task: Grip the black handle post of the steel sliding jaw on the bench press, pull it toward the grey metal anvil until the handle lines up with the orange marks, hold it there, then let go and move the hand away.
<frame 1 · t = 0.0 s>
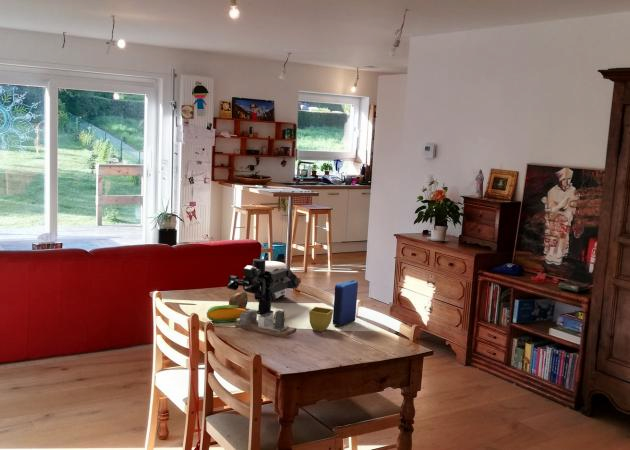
hand: (236, 288, 304), 17 cm above the table, tool horizontal, fingers open, 9 cm apart
book: (344, 324, 318), on the table
milk container: (269, 298, 358), on the table
press base: (265, 328, 303), on the table
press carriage: (273, 319, 301), point 5 cm above the table, slide at 0.0 cm
corn: (227, 321, 312), on the table
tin: (237, 311, 330), on the table
flower pot: (320, 330, 307), on the table
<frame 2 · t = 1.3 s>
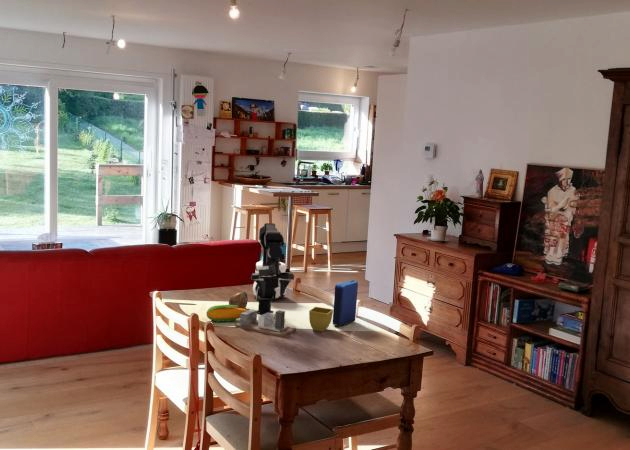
hand: (272, 296, 298), 16 cm above the table, tool tilted 15°, fingers open, 9 cm apart
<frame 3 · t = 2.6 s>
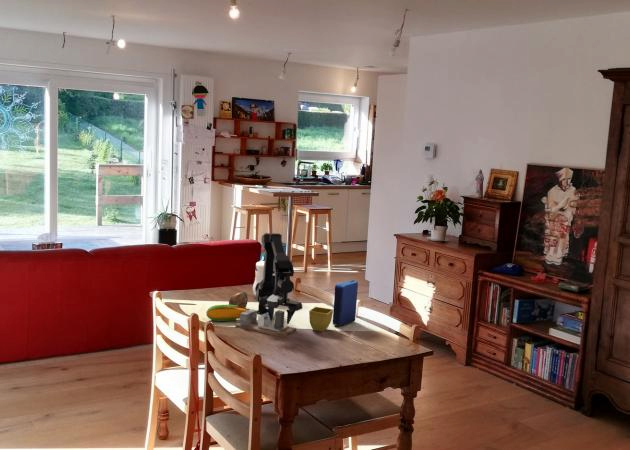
hand: (279, 322, 300), 4 cm above the table, tool pointing down, fingers open, 8 cm apart
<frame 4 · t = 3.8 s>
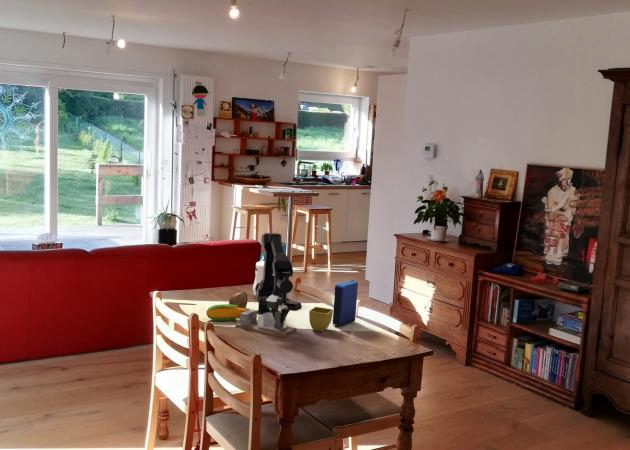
hand: (278, 322, 300), 4 cm above the table, tool pointing down, fingers closed on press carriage, 3 cm apart
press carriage: (273, 318, 301), point 5 cm above the table, slide at 0.3 cm, touching gripper
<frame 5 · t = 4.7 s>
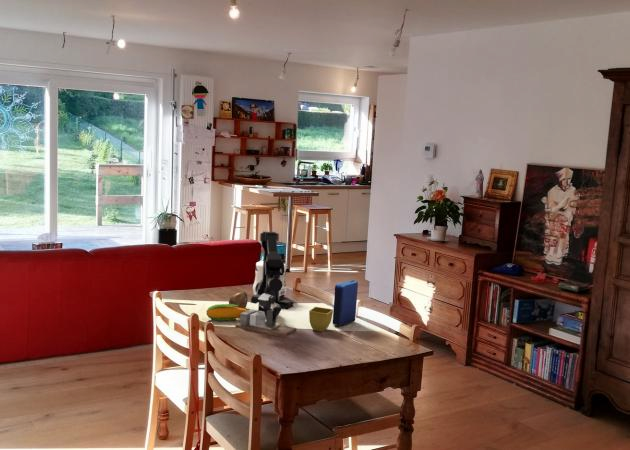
hand: (271, 320, 302), 4 cm above the table, tool pointing down, fingers closed on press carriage, 3 cm apart
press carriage: (265, 317, 303), point 5 cm above the table, slide at 4.3 cm, touching gripper
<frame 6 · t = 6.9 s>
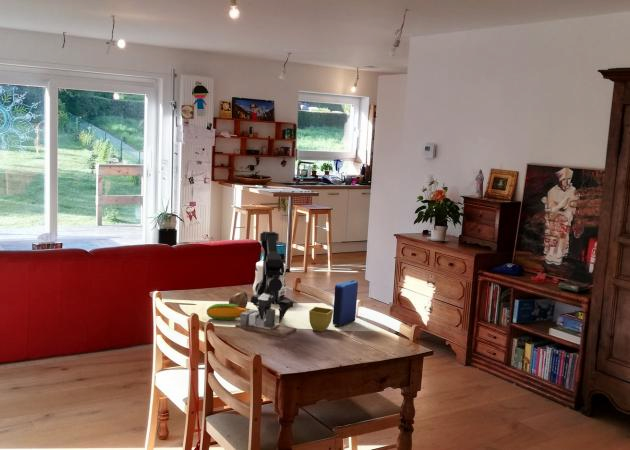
hand: (270, 320, 302), 4 cm above the table, tool pointing down, fingers open, 9 cm apart
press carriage: (264, 317, 303), point 5 cm above the table, slide at 4.8 cm, touching gripper
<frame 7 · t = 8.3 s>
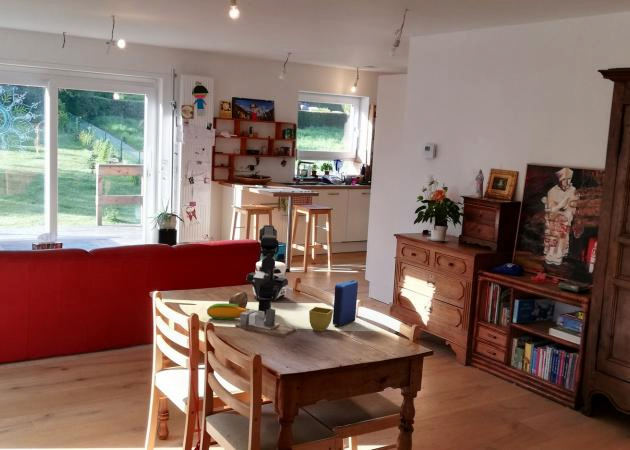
hand: (266, 298, 310), 12 cm above the table, tool pointing down, fingers open, 9 cm apart
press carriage: (264, 317, 303), point 5 cm above the table, slide at 4.8 cm
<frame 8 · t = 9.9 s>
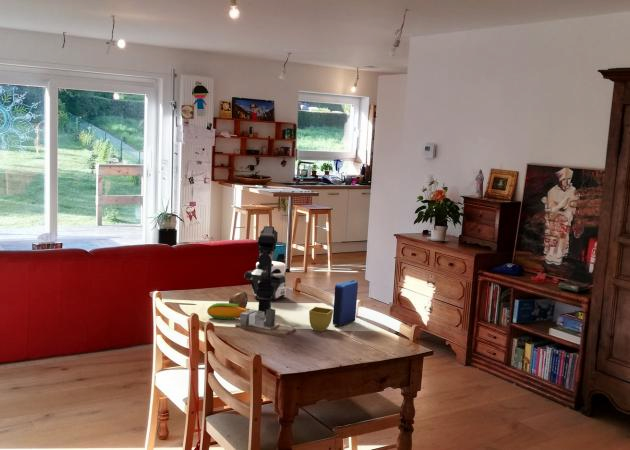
hand: (263, 295, 313), 12 cm above the table, tool pointing down, fingers open, 9 cm apart
at the end: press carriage slide at 4.8 cm; the gripper is holding nothing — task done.
